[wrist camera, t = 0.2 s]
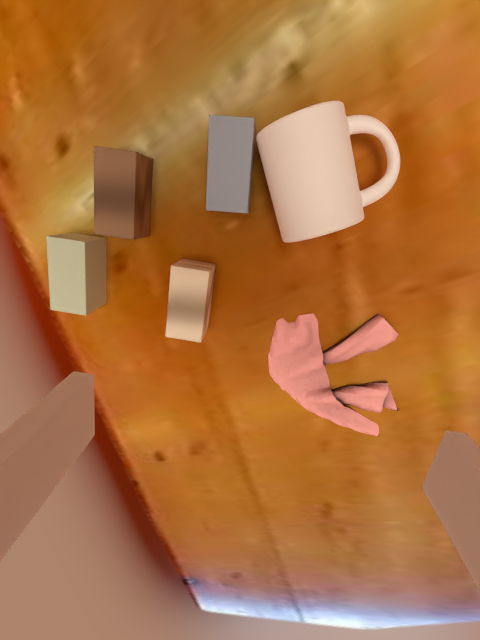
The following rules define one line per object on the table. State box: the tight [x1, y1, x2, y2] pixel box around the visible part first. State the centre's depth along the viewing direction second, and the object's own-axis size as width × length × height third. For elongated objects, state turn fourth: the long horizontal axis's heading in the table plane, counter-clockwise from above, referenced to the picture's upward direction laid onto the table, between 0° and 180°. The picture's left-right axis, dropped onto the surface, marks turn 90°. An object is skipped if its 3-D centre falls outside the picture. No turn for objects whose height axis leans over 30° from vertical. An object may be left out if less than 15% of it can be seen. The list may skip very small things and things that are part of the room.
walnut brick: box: [94, 146, 153, 240], centre depth 34 cm, size 8×4×5 cm, turn 172°
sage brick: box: [46, 233, 107, 315], centre depth 37 cm, size 8×4×5 cm, turn 172°
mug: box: [256, 101, 400, 243], centre depth 30 cm, size 12×10×8 cm
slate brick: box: [206, 115, 256, 213], centre depth 32 cm, size 8×4×5 cm, turn 176°
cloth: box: [268, 313, 399, 436], centre depth 41 cm, size 20×22×2 cm
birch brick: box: [165, 259, 216, 343], centre depth 37 cm, size 8×4×5 cm, turn 171°
